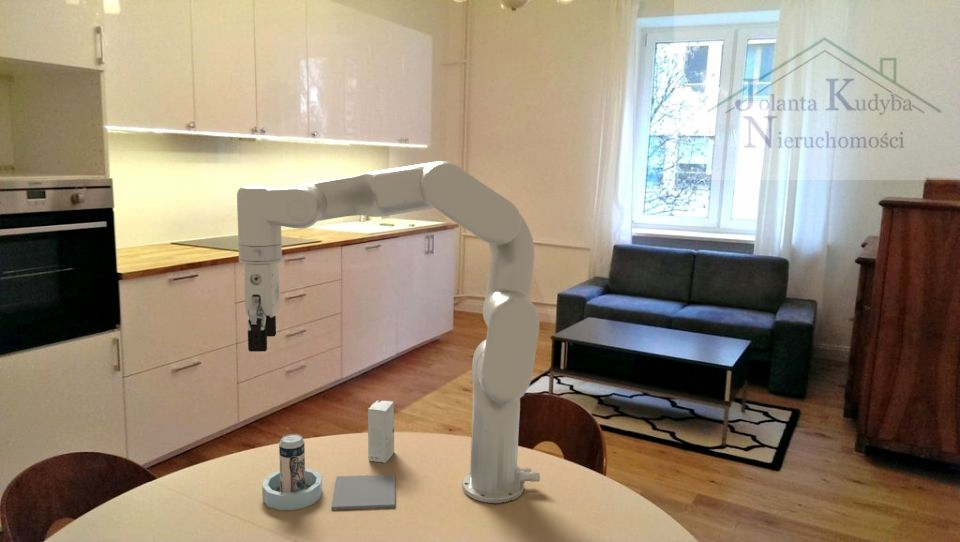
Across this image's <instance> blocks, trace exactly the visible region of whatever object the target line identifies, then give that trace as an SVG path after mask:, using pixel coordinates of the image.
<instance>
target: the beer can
mask: <svg viewBox="0 0 960 542" xmlns="http://www.w3.org/2000/svg"><path fill="white" fill-rule="evenodd" d="M278 446H279V448H278V449H279V452H278V453H279V455H278V456H279V471H280V487H279V492H281V493H295V492H299V491H302V490H306V485H305V468H306V464H305V463H306V457H305V456H306V455H305V454H306V453H305V451H306V450H305V449H306V448H305V440H304V438H303V436H302V435H300V434H298V433H291V434H290V433H289V434H286V435H283V436H282V437H281V438H280V441H279V442H278Z"/></svg>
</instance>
